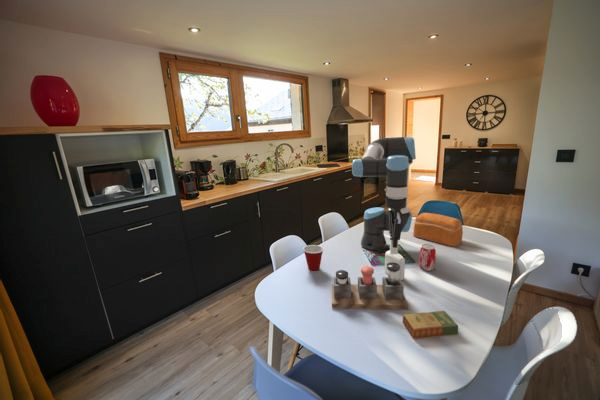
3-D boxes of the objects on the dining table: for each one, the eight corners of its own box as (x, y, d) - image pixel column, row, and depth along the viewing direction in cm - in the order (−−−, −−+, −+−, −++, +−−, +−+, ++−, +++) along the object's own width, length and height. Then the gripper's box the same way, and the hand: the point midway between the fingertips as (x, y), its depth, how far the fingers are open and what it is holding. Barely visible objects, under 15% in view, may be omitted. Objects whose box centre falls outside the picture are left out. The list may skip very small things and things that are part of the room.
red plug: (358, 286, 114) (358, 267, 112) (370, 284, 115) (370, 265, 112) (363, 293, 109) (364, 273, 107) (375, 291, 110) (376, 271, 108)
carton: (402, 323, 98) (402, 313, 97) (443, 319, 99) (444, 309, 98) (413, 340, 90) (413, 329, 89) (458, 335, 91) (459, 325, 90)
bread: (421, 230, 181) (422, 208, 177) (463, 241, 162) (466, 216, 158) (411, 236, 173) (412, 213, 169) (455, 248, 153) (457, 222, 149)
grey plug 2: (383, 282, 112) (384, 263, 110) (395, 281, 113) (395, 261, 111) (389, 289, 107) (390, 269, 105) (401, 287, 108) (402, 267, 106)
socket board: (331, 307, 108) (331, 290, 106) (331, 287, 122) (331, 272, 120) (407, 309, 105) (409, 291, 103) (399, 289, 118) (399, 273, 116)
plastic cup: (328, 266, 140) (327, 246, 137) (317, 276, 132) (316, 254, 129) (311, 262, 146) (310, 242, 143) (300, 270, 138) (298, 249, 135)
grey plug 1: (334, 289, 116) (334, 271, 113) (345, 288, 117) (345, 269, 114) (338, 296, 111) (338, 277, 108) (350, 294, 112) (350, 275, 109)
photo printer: (383, 272, 132) (383, 249, 129) (389, 269, 134) (390, 247, 131) (398, 282, 123) (400, 258, 120) (405, 279, 125) (406, 255, 122)
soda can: (436, 272, 130) (438, 249, 127) (420, 271, 131) (422, 249, 128) (432, 265, 136) (433, 243, 133) (417, 264, 138) (419, 243, 135)
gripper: (382, 193, 107) (381, 246, 113) (389, 201, 95) (387, 261, 100) (401, 192, 106) (399, 246, 112) (411, 201, 94) (408, 261, 100)
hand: (393, 253), depth 106 cm, fingers closed
